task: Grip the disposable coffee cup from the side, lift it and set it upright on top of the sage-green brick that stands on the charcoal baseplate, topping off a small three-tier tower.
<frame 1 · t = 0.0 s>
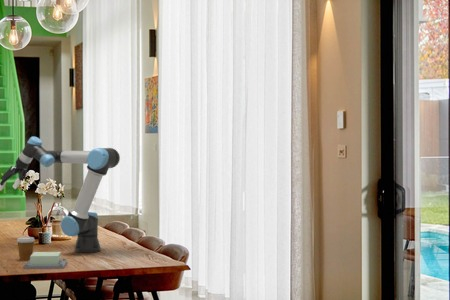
hand: (6, 188, 458), 36 cm above the table, tool tilted 35°, fingers open, 13 cm apart
disposable coffee cup: (25, 260, 418), on the table
tower base: (45, 265, 401), on the table
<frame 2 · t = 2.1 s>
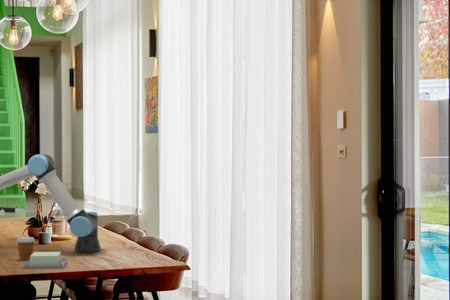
hand: (13, 212, 423), 25 cm above the table, tool horizontal, fingers open, 13 cm apart
nothing on the table moved.
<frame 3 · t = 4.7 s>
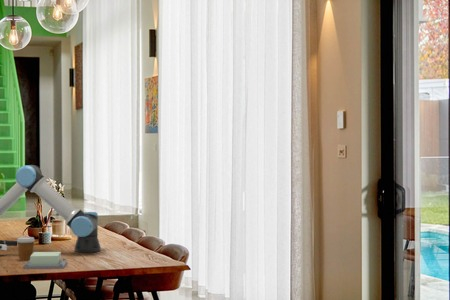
hand: (16, 246, 422), 7 cm above the table, tool horizontal, fingers open, 13 cm apart
nothing on the table moved.
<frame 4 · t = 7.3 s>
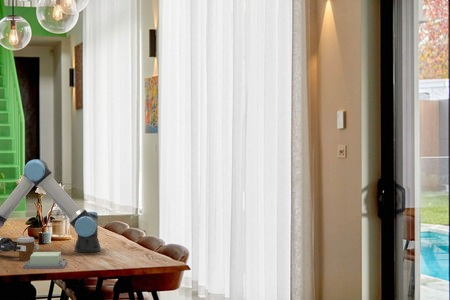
hand: (31, 247, 415), 7 cm above the table, tool horizontal, fingers closed on disposable coffee cup, 8 cm apart
disposable coffee cup: (25, 260, 418), on the table, touching gripper
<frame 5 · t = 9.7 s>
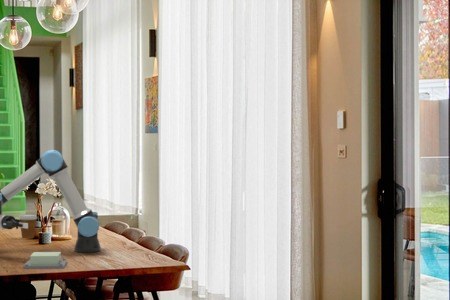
hand: (34, 225, 410), 20 cm above the table, tool horizontal, fingers closed on disposable coffee cup, 8 cm apart
disposable coffee cup: (28, 237, 413), point 13 cm above the table, touching gripper
when the fingers open (14 cm above the table, at t = 12.6 s): disposable coffee cup moves 3 cm, resting on tower base.
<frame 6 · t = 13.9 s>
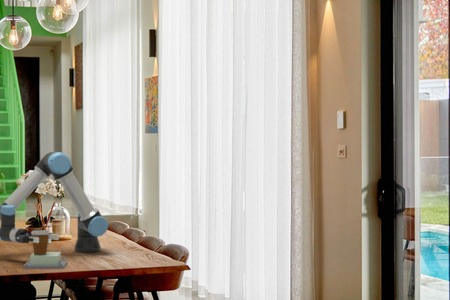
hand: (48, 238, 399), 14 cm above the table, tool horizontal, fingers open, 13 cm apart
disposable coffee cup: (40, 254, 399), point 6 cm above the table, touching gripper, tower base
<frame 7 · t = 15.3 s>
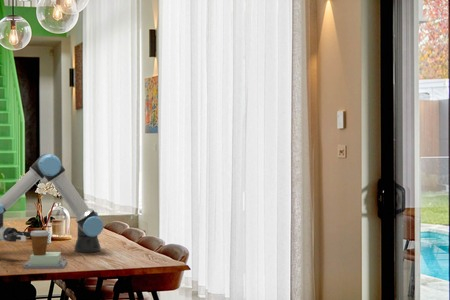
hand: (35, 237, 405), 14 cm above the table, tool horizontal, fingers open, 13 cm apart
disposable coffee cup: (39, 254, 399), point 6 cm above the table, touching tower base
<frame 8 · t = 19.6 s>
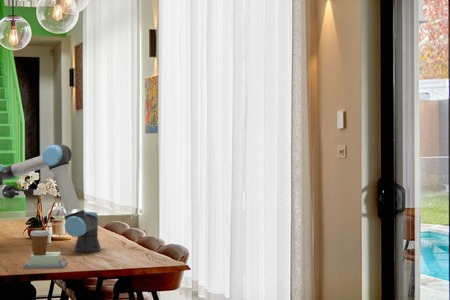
hand: (32, 193, 433), 35 cm above the table, tool horizontal, fingers open, 13 cm apart
nothing on the table moved.
at the end: disposable coffee cup inside the target area on the tower base (3.3 cm from its centre), point 5.8 cm above the tower base's base; disposable coffee cup tilted 0°; the gripper is holding nothing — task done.
